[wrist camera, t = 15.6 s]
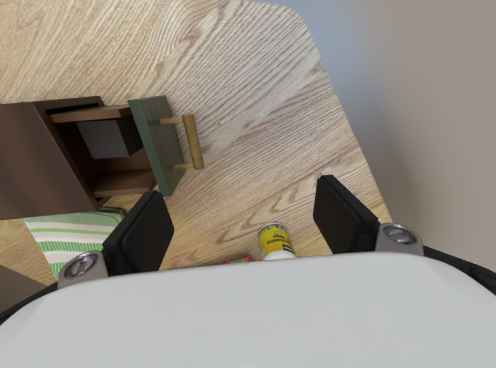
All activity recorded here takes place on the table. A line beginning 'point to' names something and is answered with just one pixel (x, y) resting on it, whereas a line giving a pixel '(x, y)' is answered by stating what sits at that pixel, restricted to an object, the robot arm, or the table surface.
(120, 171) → the drawer
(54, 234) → the dish towel
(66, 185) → the cabinet
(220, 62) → the table surface
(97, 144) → the block
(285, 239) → the pill bottle
